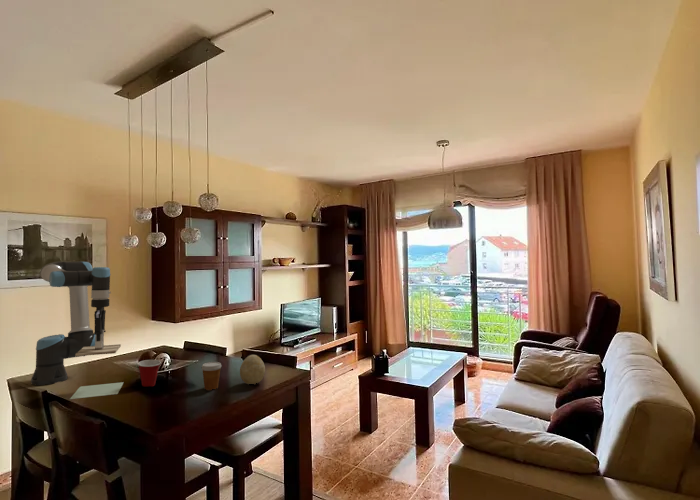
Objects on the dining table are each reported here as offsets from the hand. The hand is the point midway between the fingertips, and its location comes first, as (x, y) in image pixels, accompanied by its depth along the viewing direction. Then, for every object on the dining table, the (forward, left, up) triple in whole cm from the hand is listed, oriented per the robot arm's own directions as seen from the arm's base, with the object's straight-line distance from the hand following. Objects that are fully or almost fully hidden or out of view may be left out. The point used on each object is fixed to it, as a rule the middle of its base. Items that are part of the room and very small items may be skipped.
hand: (99, 346), depth 190 cm
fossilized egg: (+17, +71, -22) cm, 76 cm away
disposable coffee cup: (+16, +51, -22) cm, 58 cm away
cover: (0, 0, -2) cm, 2 cm away
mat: (0, 0, -21) cm, 21 cm away
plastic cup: (0, +22, -22) cm, 31 cm away
